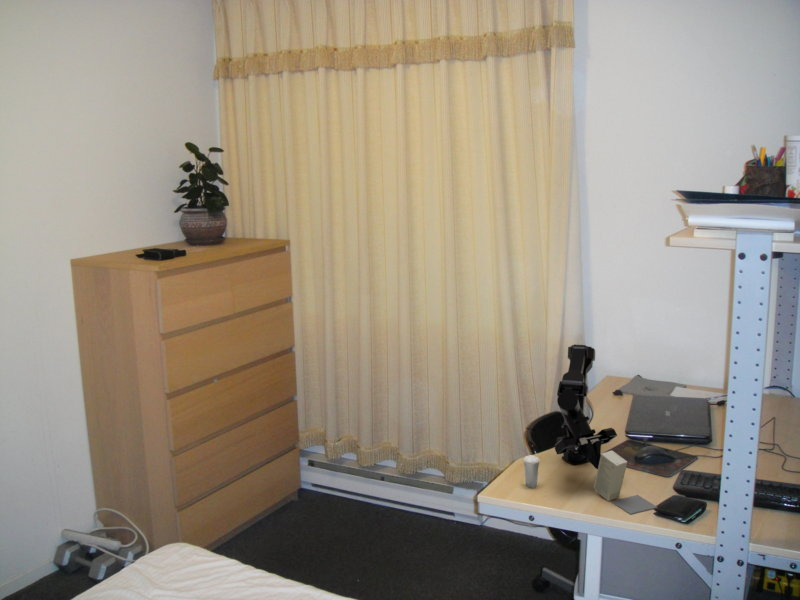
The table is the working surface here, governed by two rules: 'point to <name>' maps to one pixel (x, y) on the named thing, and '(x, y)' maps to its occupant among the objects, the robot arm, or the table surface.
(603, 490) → the skincare box
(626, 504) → the felt pad
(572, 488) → the table surface
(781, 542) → the table surface
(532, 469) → the milkshake
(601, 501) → the table surface
